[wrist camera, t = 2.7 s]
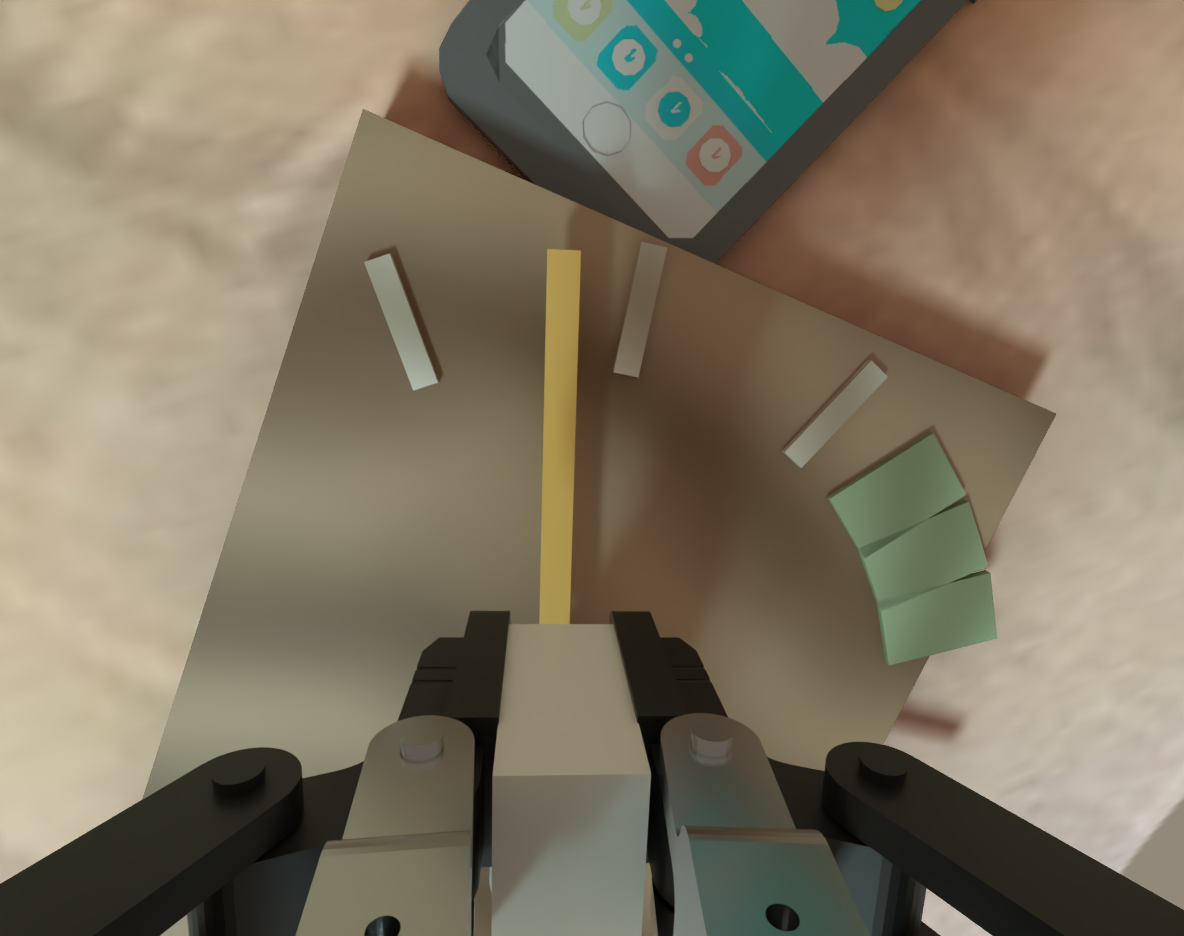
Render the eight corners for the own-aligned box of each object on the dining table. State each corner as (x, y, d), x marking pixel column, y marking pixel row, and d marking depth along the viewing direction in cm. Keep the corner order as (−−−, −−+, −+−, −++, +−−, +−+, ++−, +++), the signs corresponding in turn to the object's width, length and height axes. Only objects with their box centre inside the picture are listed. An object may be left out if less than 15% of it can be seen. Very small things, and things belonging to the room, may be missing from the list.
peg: (591, 894, 19) (634, 1388, 10) (501, 897, 18) (466, 1403, 10) (617, 255, 15) (717, 169, 7) (508, 250, 15) (463, 155, 6)
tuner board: (751, 1098, 23) (769, 1162, 22) (114, 940, 20) (74, 999, 19) (1105, 445, 19) (1161, 458, 18) (379, 127, 16) (359, 104, 15)
